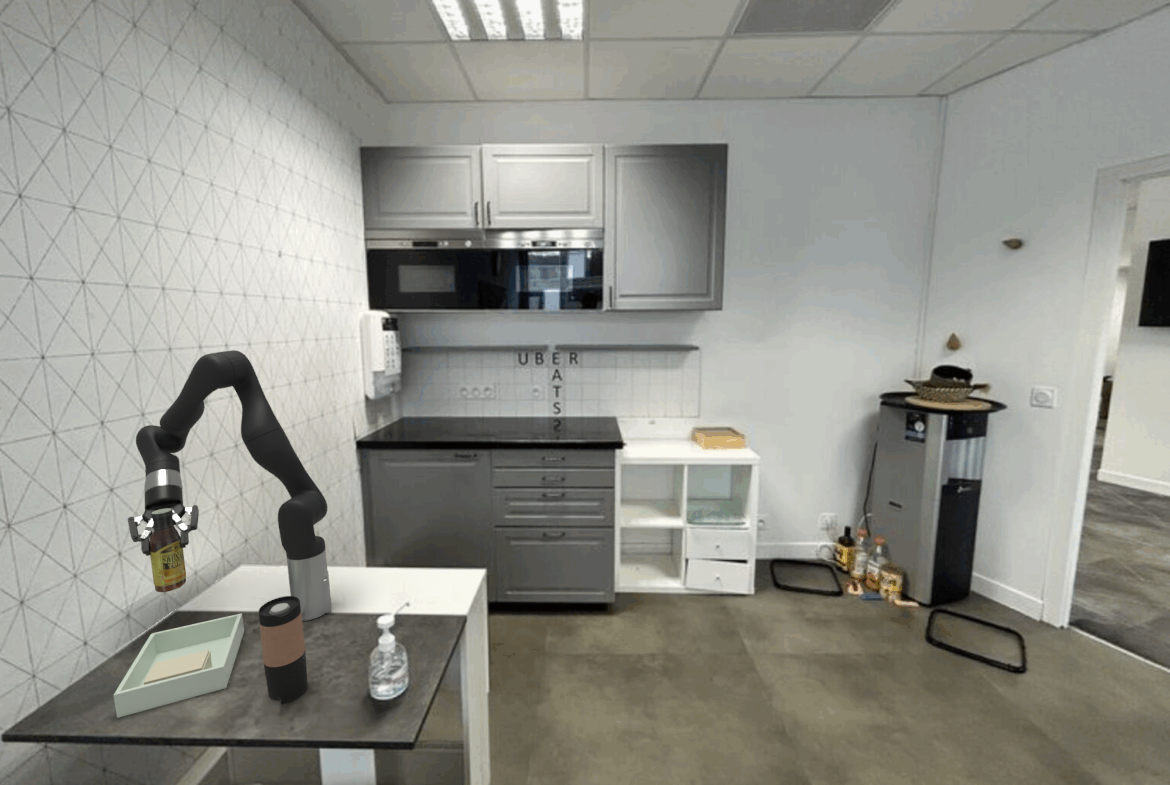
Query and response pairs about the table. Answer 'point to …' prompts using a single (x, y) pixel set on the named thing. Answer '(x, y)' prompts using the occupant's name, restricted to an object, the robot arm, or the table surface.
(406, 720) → the table surface
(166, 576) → the sauce bottle
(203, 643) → the tote
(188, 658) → the beige lidded box
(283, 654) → the travel mug
